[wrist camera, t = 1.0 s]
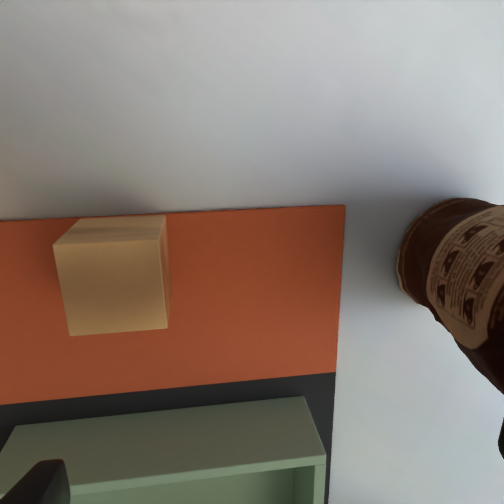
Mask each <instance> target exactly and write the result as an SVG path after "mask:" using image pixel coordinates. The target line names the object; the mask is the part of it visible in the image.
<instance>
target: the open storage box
mask: <svg viewBox="0 0 504 504" xmlns="http://www.w3.org/2000/svg"><path fill="white" fill-rule="evenodd" d="M49 459H62V460H63V461H64V463H65V466H66V471H67V476H68V481H69V486H70V492H71V500H70V504H324V491H325V473H326V453H325V450H324V447H323V445H322V442H321V440H320V437H319V434H318V432H317V429H316V426H315V424H314V421H313V419H312V416H311V413H310V411H309V408H308V406H307V403H306V400H305V398H304V396H296V397H286V398H277V399H267V400H257V401H248V402H238V403H229V404H219V405H210V406H200V407H190V408H181V409H171V410H162V411H152V412H143V413H133V414H123V415H114V416H104V417H95V418H85V419H75V420H66V421H56V422H47V423H37V424H28V425H18V426H15V428H14V430H13V431H12V433H11V435H10V437H9V439H8V440H7V442H6V444H5V446H4V447H3V449H2V451H1V453H0V499H1V498H2V497H3V496H4V495H5V494H6V493H7V492H8V491H9V490H10V489H11V488H12V487H13V486H14V485H15V484H16V483H17V482H18V481H19V480H20V479H21V478H22V477H23V476H24V475H25V474H26V473H27V472H28V471H29V470H30V469H31V468H32V467H33V466H34V465H35V464H36V463H38V462H39V461H42V460H49Z"/></svg>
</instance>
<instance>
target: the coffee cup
mask: <svg viewBox="0 0 504 504" xmlns="http://www.w3.org/2000/svg"><path fill="white" fill-rule="evenodd" d="M396 272H397V275H398V279H399V287H400V288H401V290H402V291H403V292H404V293H406V294H407V295H408V296H410V297H411V298H412V299H413V300H414V301H415V302H416V303H418V304H421V305H423V306H425V307H427V308H429V310H430V311H431V312H432V314H433V315H434V318H435V320H436V321H438V322H439V323H441V324H442V325H443V326H444V327H445V328H446V329H447V331H448V332H450V333H451V334H452V336H453V337H454V340H455V342H456V343H457V345H458V347H459V348H460V350H461V351H462V352H463V353H464V354H465V355H466V356H467V357H468V359H469V360H470V361H471V363H472V364H473V365H474V367H475V368H476V369H477V370H478V371H479V372H480V373H481V374H482V375H484V376H485V377H486V378H487V379H488V380H489V381H490V382H491V383H492V384H493V385H494V386H495V387H496V388H497V389H498V390H499V391H500V392H501V393H502V394H504V205H495V204H491V203H488V202H486V201H482V200H478V199H470V198H451V199H447V200H444V201H442V202H439V203H437V204H435V205H434V206H432V207H430V208H429V209H428V210H426V211H425V212H424V213H422V214H421V215H420V216H418V217H417V218H416V219H415V220H414V221H413V223H412V224H411V225H410V227H409V229H408V230H407V232H406V234H405V235H404V237H403V240H402V242H401V245H400V247H399V252H398V258H397V264H396Z"/></svg>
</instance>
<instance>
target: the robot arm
mask: <svg viewBox="0 0 504 504" xmlns="http://www.w3.org/2000/svg"><path fill="white" fill-rule="evenodd" d="M498 447H499V451H500V453H501V455H502V457H503V459H504V419H503V423H502V427H501V431H500V435H499V439H498ZM70 500H71V492H70V486H69V481H68V476H67V471H66V466H65V463H64V461H63V460H62V459H49V460H42V461H39V462H38V463H36V464H35V465H34V466H33V467H32V468H31V469H30V470H29V471H28V472H27V473H26V474H25V475H24V476H23V477H22V478H21V479H20V480H19V481H18V482H17V483H16V484H15V485H14V486H13V487H12V488H11V489H10V490H9V491H8V492H7V493H6V494H5V495H4V496H3V497H2V498H1V499H0V504H70Z"/></svg>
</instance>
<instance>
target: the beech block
mask: <svg viewBox="0 0 504 504" xmlns="http://www.w3.org/2000/svg"><path fill="white" fill-rule="evenodd" d="M52 246H53V252H54V257H55V262H56V267H57V273H58V278H59V283H60V289H61V294H62V299H63V304H64V310H65V315H66V320H67V326H68V331H69V336H81V335H93V334H106V333H118V332H130V331H143V330H155V329H167V328H168V322H169V314H170V306H171V298H172V290H173V289H172V278H171V267H170V256H169V245H168V234H167V223H166V215H148V216H127V217H107V218H86V219H79V220H78V221H77V222H76V223H75V224H74V225H73V226H72V227H71V228H70V229H69V230H68V231H67V232H66V233H64V234H63V235H62V236H61V237H60V238H59V239H58V240H57V241H56V242H55V243H54V244H53V245H52Z"/></svg>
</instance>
